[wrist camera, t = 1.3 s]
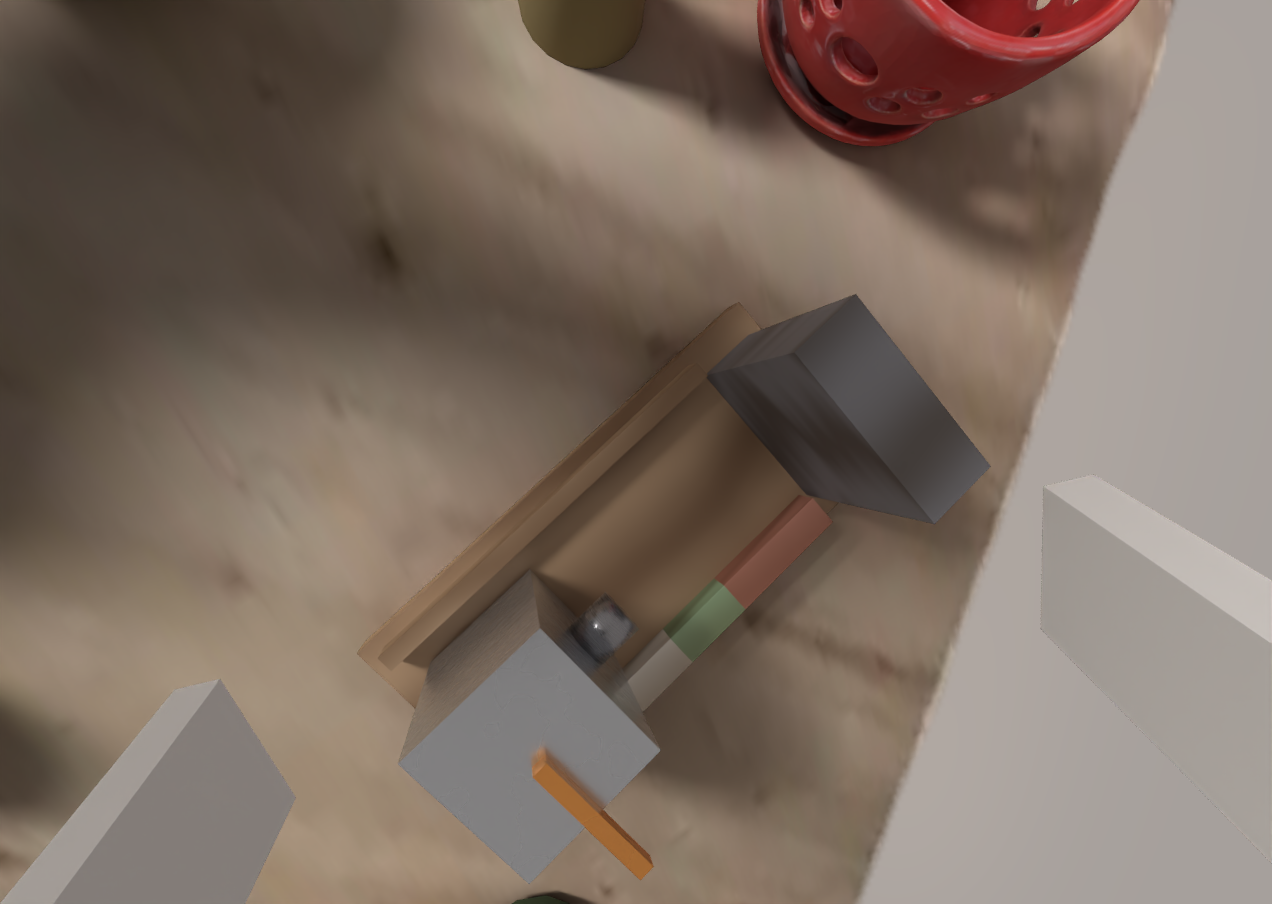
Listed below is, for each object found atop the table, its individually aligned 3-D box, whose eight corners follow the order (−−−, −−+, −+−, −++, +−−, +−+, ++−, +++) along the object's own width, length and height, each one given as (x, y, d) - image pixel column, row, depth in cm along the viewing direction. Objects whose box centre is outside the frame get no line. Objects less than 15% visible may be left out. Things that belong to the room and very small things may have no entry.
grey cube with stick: (430, 662, 29) (394, 773, 20) (562, 538, 30) (587, 589, 21) (557, 784, 31) (580, 943, 21) (679, 662, 32) (753, 762, 22)
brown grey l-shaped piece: (364, 642, 30) (280, 770, 19) (728, 307, 33) (843, 246, 22) (525, 796, 32) (536, 995, 21) (859, 465, 35) (1027, 483, 24)
